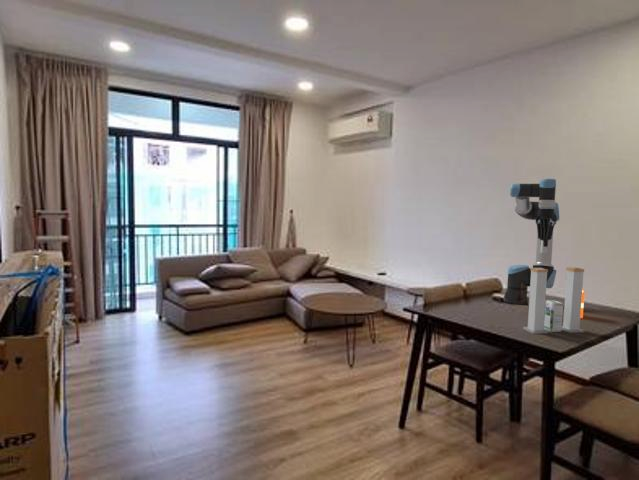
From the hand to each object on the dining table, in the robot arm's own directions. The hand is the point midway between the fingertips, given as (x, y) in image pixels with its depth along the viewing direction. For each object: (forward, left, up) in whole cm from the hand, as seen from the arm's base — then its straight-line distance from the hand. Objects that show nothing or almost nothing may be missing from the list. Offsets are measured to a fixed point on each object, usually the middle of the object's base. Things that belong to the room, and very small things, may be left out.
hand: (543, 252), depth 225 cm
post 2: (+19, -7, -36) cm, 41 cm away
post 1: (+9, -23, -36) cm, 44 cm away
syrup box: (+14, -15, -37) cm, 42 cm away
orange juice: (+8, +23, -37) cm, 44 cm away
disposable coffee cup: (-6, +7, -37) cm, 38 cm away
